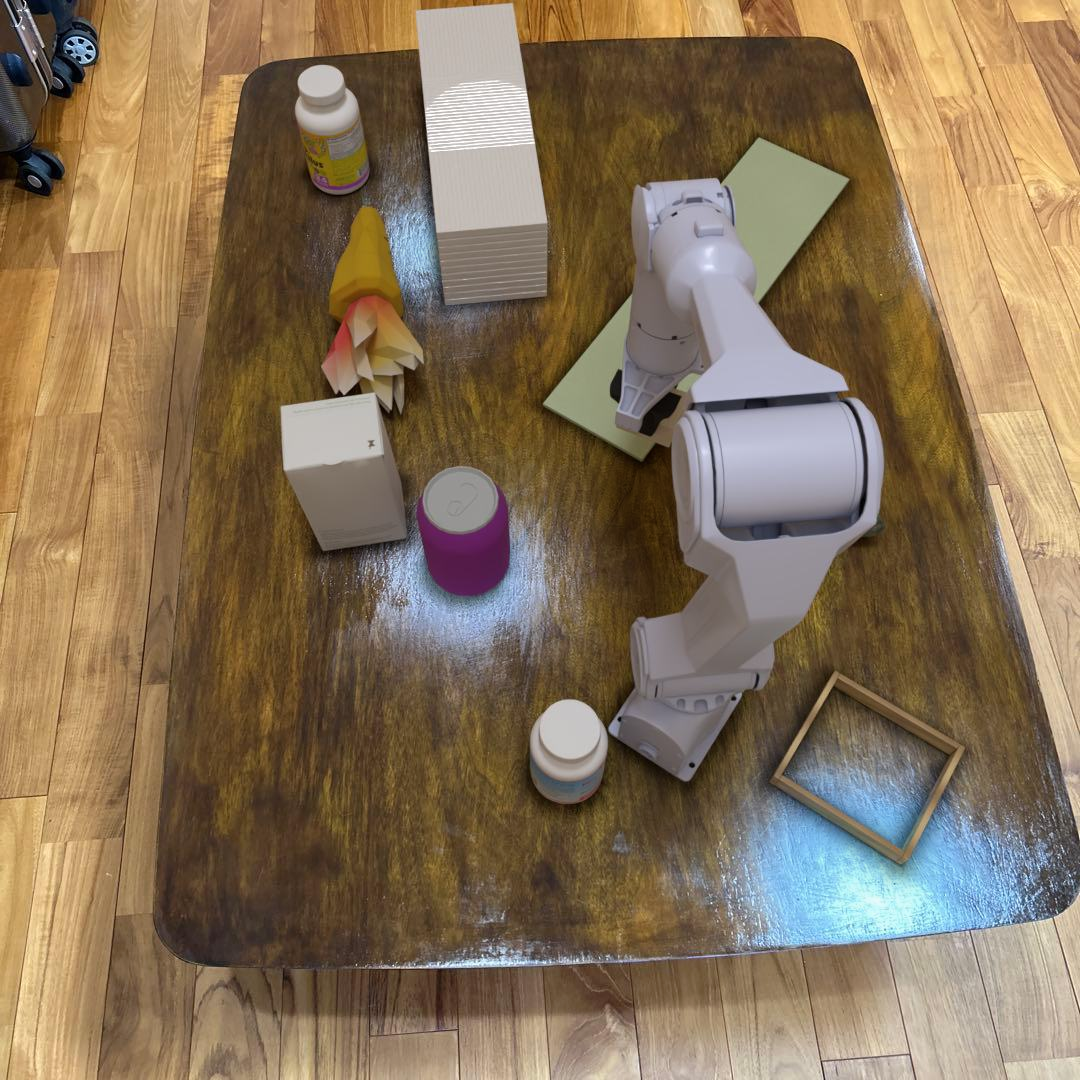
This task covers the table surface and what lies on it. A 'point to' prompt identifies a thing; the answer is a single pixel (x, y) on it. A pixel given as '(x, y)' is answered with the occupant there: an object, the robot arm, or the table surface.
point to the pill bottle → (568, 752)
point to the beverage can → (464, 531)
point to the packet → (665, 424)
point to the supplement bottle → (331, 131)
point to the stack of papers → (482, 155)
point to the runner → (770, 239)
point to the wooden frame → (904, 721)
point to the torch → (369, 317)
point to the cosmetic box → (343, 471)
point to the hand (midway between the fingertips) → (651, 410)
